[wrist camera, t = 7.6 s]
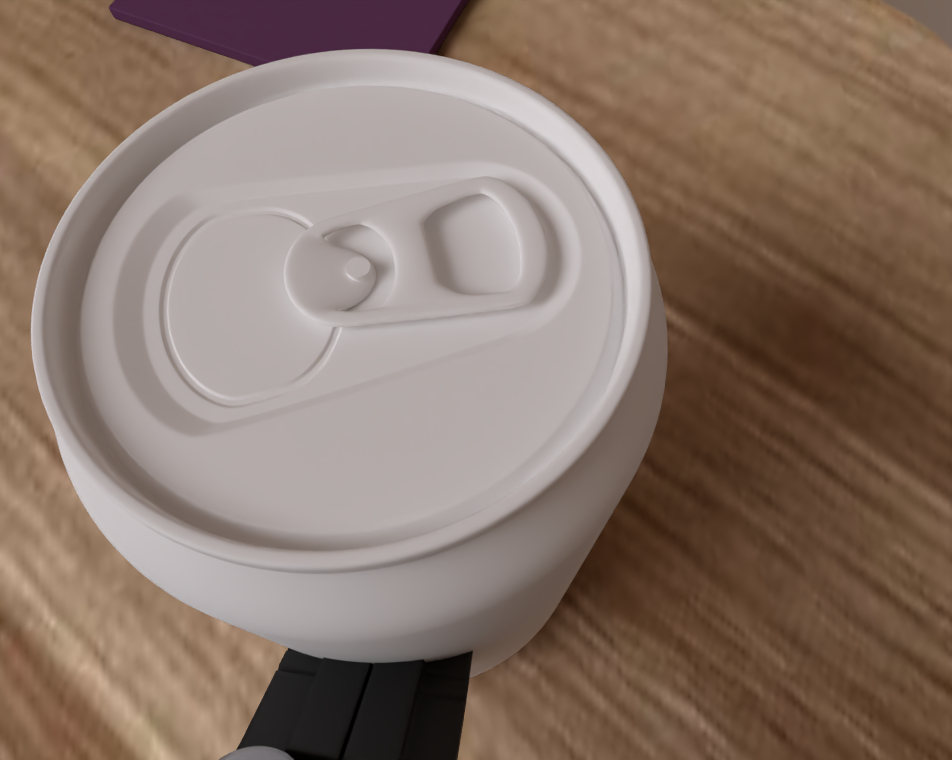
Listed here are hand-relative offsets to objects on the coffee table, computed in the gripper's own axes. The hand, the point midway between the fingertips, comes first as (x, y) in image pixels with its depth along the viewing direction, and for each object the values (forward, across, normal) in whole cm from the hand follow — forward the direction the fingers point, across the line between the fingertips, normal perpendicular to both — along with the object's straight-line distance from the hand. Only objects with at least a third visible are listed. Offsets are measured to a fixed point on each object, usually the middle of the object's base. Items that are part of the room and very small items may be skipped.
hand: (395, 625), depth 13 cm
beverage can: (+6, 0, +2) cm, 7 cm away
